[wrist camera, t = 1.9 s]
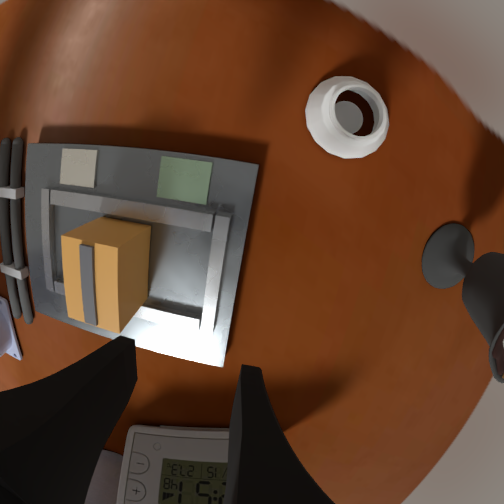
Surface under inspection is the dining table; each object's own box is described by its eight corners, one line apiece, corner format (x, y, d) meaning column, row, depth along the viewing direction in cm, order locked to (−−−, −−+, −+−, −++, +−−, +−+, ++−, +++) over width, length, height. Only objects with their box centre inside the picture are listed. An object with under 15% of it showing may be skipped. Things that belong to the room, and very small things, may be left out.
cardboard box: (101, 286, 19) (66, 318, 14) (101, 216, 17) (58, 236, 13) (147, 298, 19) (118, 335, 14) (151, 225, 17) (115, 249, 13)
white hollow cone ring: (337, 64, 15) (287, 120, 16) (349, 49, 12) (291, 113, 13) (398, 118, 16) (351, 174, 17) (418, 113, 13) (366, 178, 14)
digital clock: (292, 422, 24) (295, 523, 14) (280, 467, 27) (279, 546, 17) (123, 399, 24) (81, 482, 14) (141, 448, 27) (114, 518, 17)
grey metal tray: (43, 304, 22) (31, 314, 20) (37, 142, 17) (22, 143, 15) (224, 357, 22) (221, 372, 20) (259, 164, 17) (258, 165, 15)
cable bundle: (16, 313, 22) (10, 318, 21) (5, 137, 17) (-3, 138, 16) (37, 323, 22) (31, 328, 21) (27, 136, 17) (18, 137, 16)
